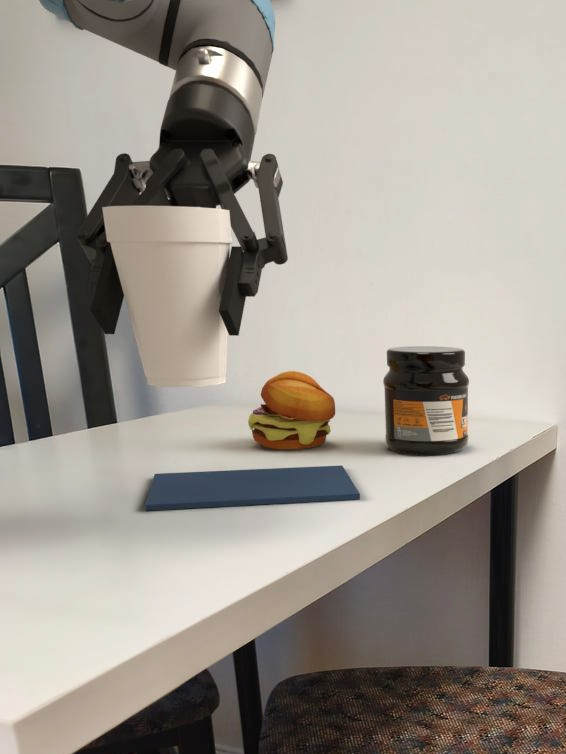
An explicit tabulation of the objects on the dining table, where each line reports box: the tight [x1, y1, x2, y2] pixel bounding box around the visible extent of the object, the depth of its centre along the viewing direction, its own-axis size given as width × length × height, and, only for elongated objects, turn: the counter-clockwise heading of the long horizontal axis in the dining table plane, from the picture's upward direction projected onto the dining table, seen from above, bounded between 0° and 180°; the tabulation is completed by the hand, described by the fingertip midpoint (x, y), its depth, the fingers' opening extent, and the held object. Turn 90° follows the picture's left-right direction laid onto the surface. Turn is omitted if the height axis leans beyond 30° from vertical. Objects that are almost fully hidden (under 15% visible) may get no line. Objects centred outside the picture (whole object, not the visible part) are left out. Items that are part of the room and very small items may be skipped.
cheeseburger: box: [247, 370, 336, 450], centre depth 112 cm, size 10×11×10 cm
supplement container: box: [382, 345, 470, 456], centre depth 110 cm, size 10×10×12 cm
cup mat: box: [144, 464, 361, 512], centre depth 91 cm, size 20×14×1 cm
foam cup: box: [102, 206, 233, 388], centre depth 72 cm, size 10×9×13 cm
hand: (165, 322), depth 69 cm, fingers closed on foam cup, 9 cm apart
